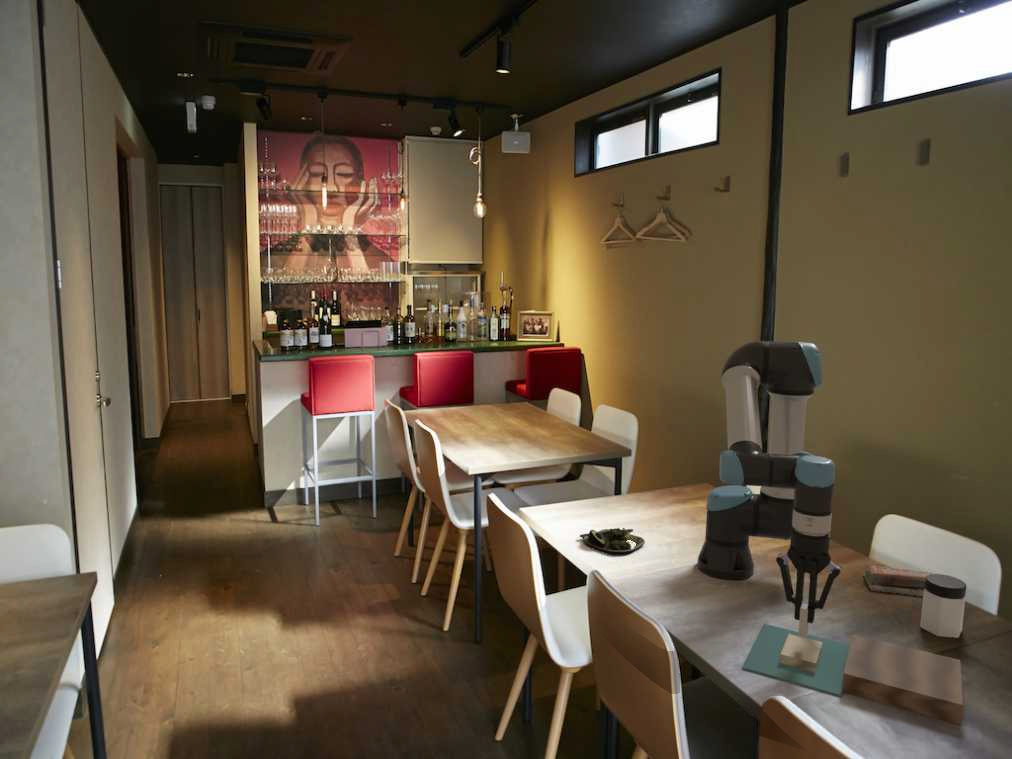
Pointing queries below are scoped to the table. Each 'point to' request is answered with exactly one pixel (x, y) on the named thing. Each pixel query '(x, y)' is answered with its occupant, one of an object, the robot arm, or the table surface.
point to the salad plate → (612, 541)
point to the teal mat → (768, 663)
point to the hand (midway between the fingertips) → (802, 634)
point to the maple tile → (801, 652)
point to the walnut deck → (904, 678)
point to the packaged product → (895, 580)
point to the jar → (943, 605)
